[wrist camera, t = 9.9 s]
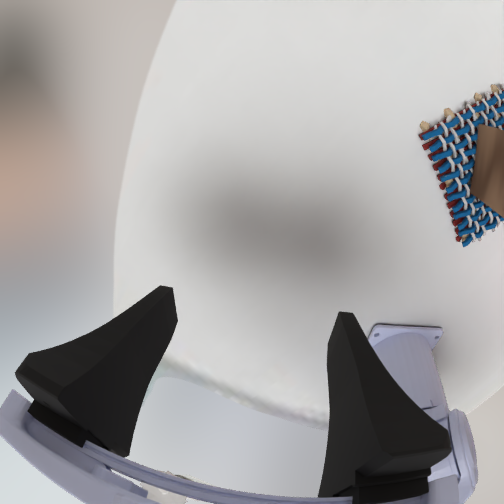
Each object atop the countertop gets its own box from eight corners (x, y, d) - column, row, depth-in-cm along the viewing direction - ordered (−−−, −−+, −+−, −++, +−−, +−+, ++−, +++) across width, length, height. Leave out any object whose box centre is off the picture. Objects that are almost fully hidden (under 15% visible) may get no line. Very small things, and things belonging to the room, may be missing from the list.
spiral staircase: (184, 465, 75) (179, 476, 87) (136, 466, 68) (139, 477, 80) (196, 508, 60) (188, 511, 72) (144, 511, 53) (147, 513, 65)
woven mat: (532, 189, 14) (545, 198, 12) (454, 242, 18) (464, 255, 17) (499, 77, 11) (514, 78, 9) (408, 125, 15) (419, 128, 13)
